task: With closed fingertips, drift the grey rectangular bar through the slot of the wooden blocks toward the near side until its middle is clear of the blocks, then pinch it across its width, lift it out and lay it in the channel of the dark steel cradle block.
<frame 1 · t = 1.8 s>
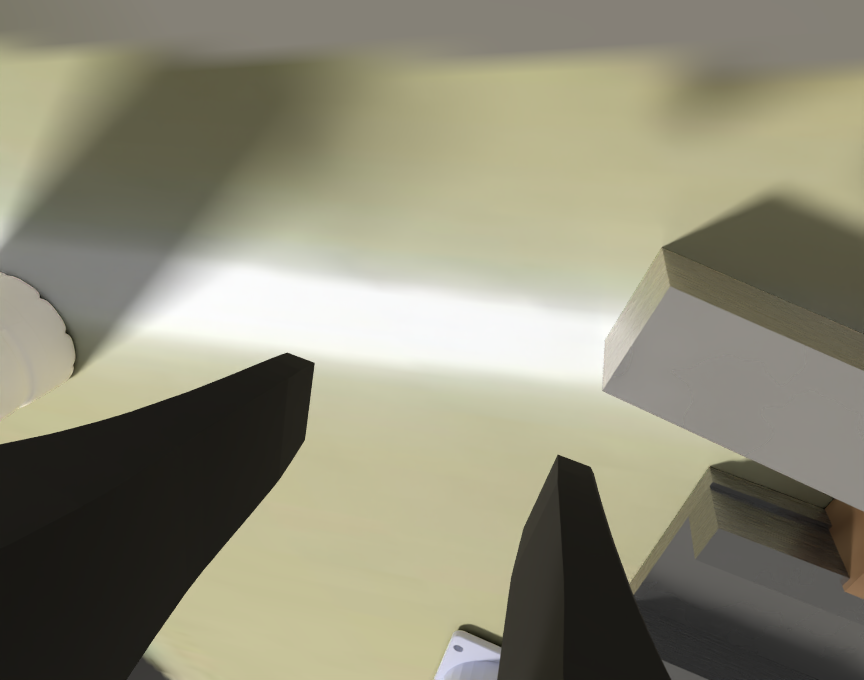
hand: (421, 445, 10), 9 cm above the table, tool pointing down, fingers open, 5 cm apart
water bottle: (38, 347, 28), on the table
grey rectangular bar: (823, 377, 17), on the table
cradle block: (783, 595, 21), on the table
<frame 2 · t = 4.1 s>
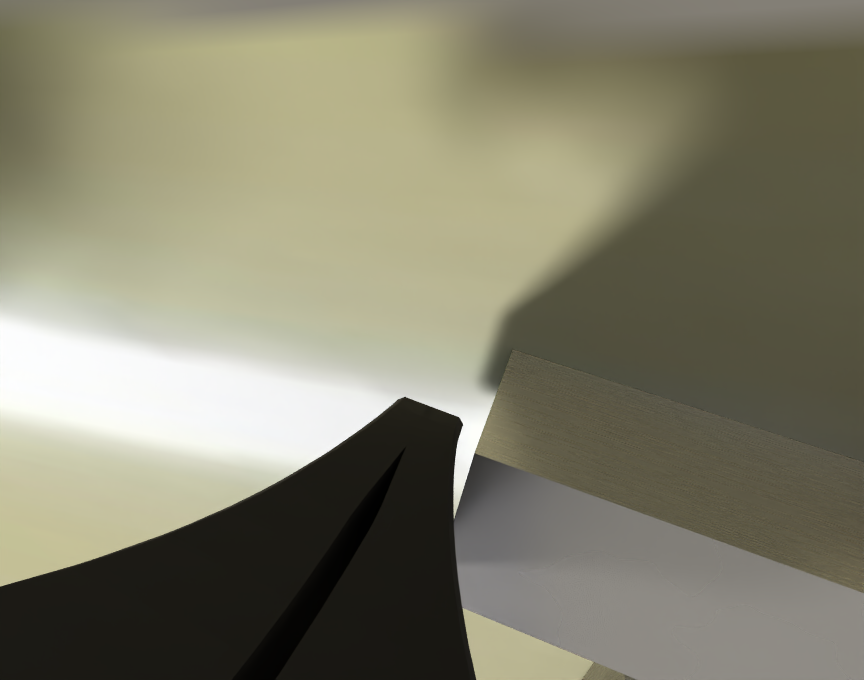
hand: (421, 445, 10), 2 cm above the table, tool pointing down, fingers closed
grey rectangular bar: (794, 516, 11), on the table, touching gripper
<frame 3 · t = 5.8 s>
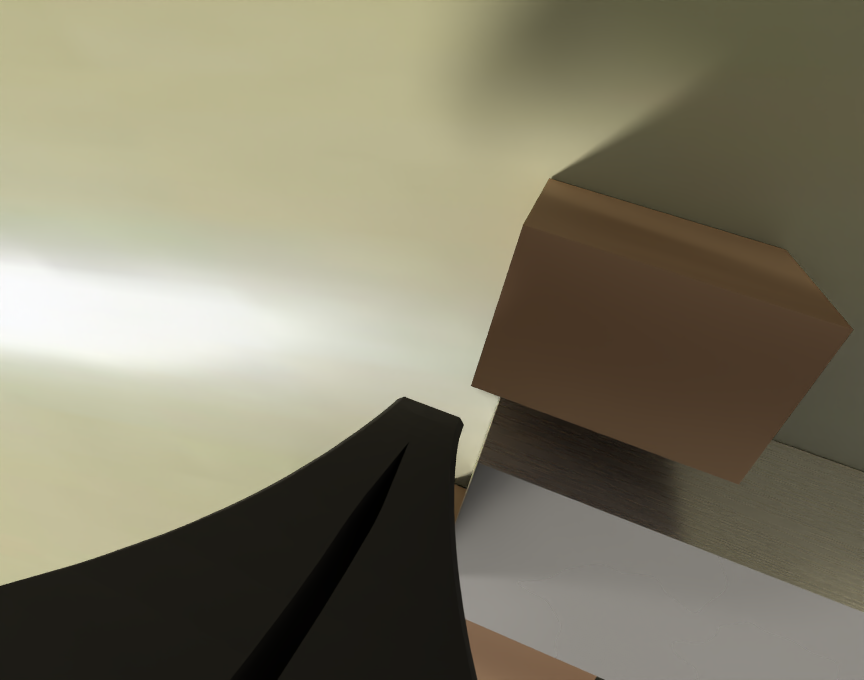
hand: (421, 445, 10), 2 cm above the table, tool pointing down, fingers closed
wooden blocks: (560, 436, 12), on the table
grey rectangular bar: (793, 528, 11), on the table, touching gripper
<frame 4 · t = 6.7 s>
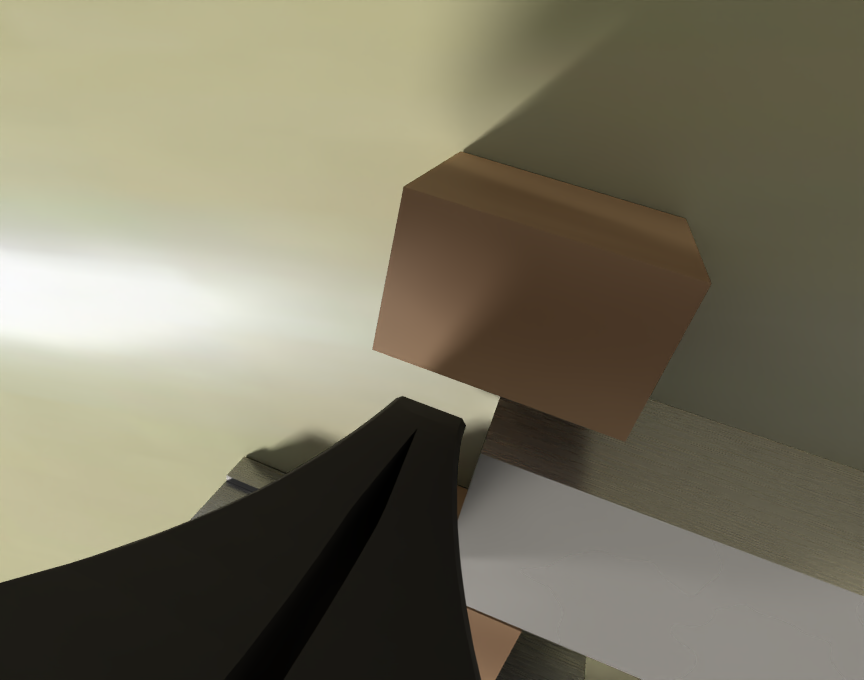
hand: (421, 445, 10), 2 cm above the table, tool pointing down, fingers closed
wooden blocks: (489, 409, 12), on the table
grey rectangular bar: (790, 518, 11), on the table
cradle block: (381, 619, 17), on the table
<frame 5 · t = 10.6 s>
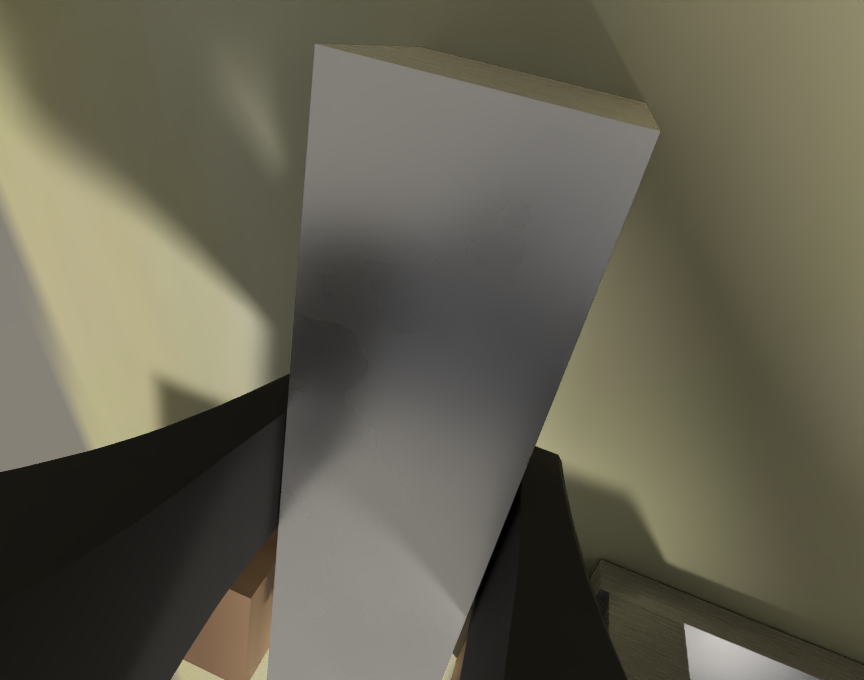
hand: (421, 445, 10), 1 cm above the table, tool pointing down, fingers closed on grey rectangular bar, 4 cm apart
wooden blocks: (389, 584, 15), on the table
grey rectangular bar: (443, 399, 12), on the table, touching gripper
when the fingers open (4 cm above the table, at t = 14.1 s): grey rectangular bar stays where it is, resting on cradle block.
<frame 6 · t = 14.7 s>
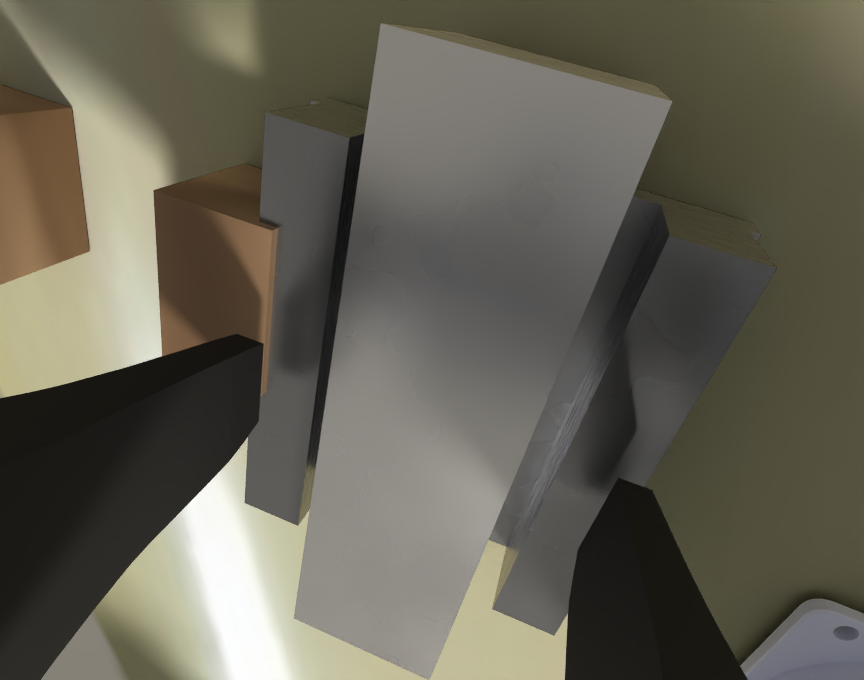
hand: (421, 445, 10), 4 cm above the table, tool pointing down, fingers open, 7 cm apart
wooden blocks: (159, 211, 14), on the table
grey rectangular bar: (462, 360, 13), point 1 cm above the table, touching cradle block
cradle block: (466, 355, 14), on the table
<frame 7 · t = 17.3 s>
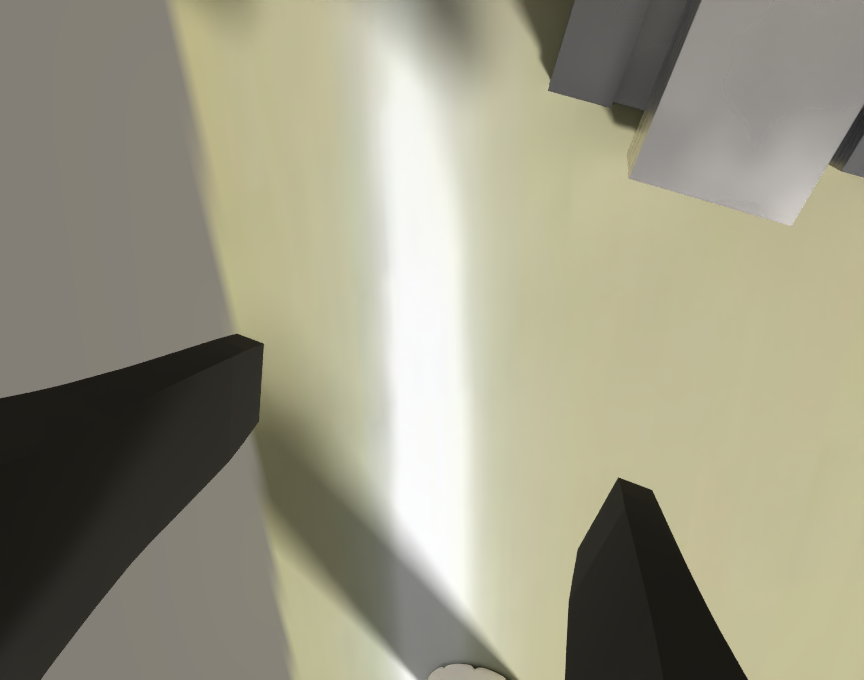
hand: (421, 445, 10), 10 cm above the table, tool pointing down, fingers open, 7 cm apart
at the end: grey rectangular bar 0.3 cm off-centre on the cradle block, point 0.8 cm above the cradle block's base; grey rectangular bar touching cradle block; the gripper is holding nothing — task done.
